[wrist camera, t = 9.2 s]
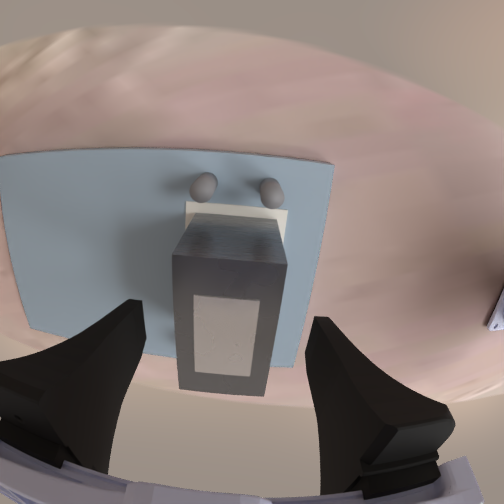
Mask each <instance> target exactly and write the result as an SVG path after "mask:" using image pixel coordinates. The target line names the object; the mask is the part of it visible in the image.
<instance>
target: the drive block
mask: <svg viewBox="0 0 504 504" xmlns="http://www.w3.org/2000/svg"><path fill="white" fill-rule="evenodd" d="M287 267H288V263H287V259H286V255H285V251H284V247H283V242H282V238H281V234H280V230H279V226H278V222H277V219H266V218H255V217H244V216H233V215H221V214H208V213H195V215H194V216H193V218H192V220H191V222H190V223H189V225H188V227H187V228H186V230H185V232H184V234H183V235H182V237H181V239H180V241H179V242H178V244H177V246H176V248H175V249H174V251H173V253H172V286H173V310H174V328H175V344H176V357H177V369H178V380H179V389H184V390H192V391H200V392H209V393H220V394H231V395H246V396H264V393H265V388H266V383H267V378H268V373H269V368H270V363H271V358H272V352H273V347H274V342H275V336H276V331H277V325H278V320H279V314H280V308H281V303H282V297H283V291H284V285H285V279H286V273H287Z"/></svg>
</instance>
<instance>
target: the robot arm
mask: <svg viewBox="0 0 504 504" xmlns="http://www.w3.org/2000/svg"><path fill="white" fill-rule="evenodd" d="M487 329H488V330H489V331H494V330H504V289H503V292H502V294H501V296H500V299H499V301H498V303H497V305H496V308H495V310H494V312H493V314H492V316H491V318H490V320H489V322H488V324H487ZM146 338H147V337H146V329H145V321H144V312H143V303H142V300H135V299H128V300H126V301H125V302H123V303H122V304H121V305H119V306H118V307H117V308H115V309H114V310H112V311H111V312H110V313H108V314H107V315H106V316H104V317H103V318H101V319H100V320H99V321H97V322H96V323H94V324H93V325H91V326H90V327H88V328H86V329H85V330H83V331H82V332H80V333H79V334H77V335H75V336H73V337H71V338H70V339H68V340H66V341H64V342H62V343H60V344H57V345H55V346H52V347H50V348H48V349H45V350H43V351H40V352H37V353H35V354H31V355H28V356H24V357H20V358H16V359H11V360H6V361H1V362H0V417H1V420H0V493H2V494H3V495H5V496H6V497H8V498H9V499H11V500H13V501H14V502H17V503H18V504H483V503H484V498H483V496H482V493H481V491H480V488H479V486H478V483H477V481H476V478H475V476H474V474H473V471H472V469H471V467H470V464H469V462H468V459H467V457H466V456H463V457H460V458H457V459H454V460H451V461H448V462H446V463H443V464H442V465H440V466H437V463H436V460H438V459H439V455H438V452H437V449H438V448H439V447H440V446H441V445H442V444H443V443H444V442H445V441H446V440H447V439H448V437H449V436H450V435H451V434H452V432H453V430H454V427H455V421H454V419H453V417H452V415H451V413H450V411H449V409H448V407H447V405H445V404H443V403H440V402H437V401H435V400H432V399H430V398H427V397H425V396H423V395H421V394H419V393H417V392H415V391H413V390H411V389H409V388H408V387H406V386H404V385H403V384H401V383H399V382H398V381H396V380H395V379H393V378H392V377H390V376H389V375H387V374H386V373H385V372H384V371H382V370H381V369H380V368H378V367H377V366H376V365H375V364H373V363H372V362H371V361H370V360H369V359H368V358H367V357H366V356H365V355H364V354H362V353H361V352H360V351H359V350H358V349H357V348H356V347H355V346H354V345H353V343H352V342H351V341H350V340H349V339H348V338H347V337H346V336H345V335H344V334H343V333H342V331H341V330H340V329H339V328H338V327H337V326H336V325H335V324H334V322H333V321H332V320H331V319H330V318H329V317H319V316H314V320H313V324H312V328H311V332H310V336H309V339H308V343H307V347H306V350H305V360H306V371H307V376H308V381H309V386H310V390H311V394H312V399H313V403H314V408H315V412H316V417H317V423H318V434H319V447H320V469H321V470H320V472H321V490H320V496H307V497H286V498H262V497H259V496H252V495H244V494H232V493H218V492H208V491H199V490H192V489H184V488H178V487H171V486H166V485H161V484H155V483H147V482H133V481H128V480H124V479H121V478H117V477H113V476H110V475H108V468H109V460H110V454H111V448H112V443H113V438H114V433H115V429H116V424H117V420H118V416H119V413H120V409H121V405H122V402H123V399H124V397H125V394H126V392H127V389H128V387H129V385H130V382H131V380H132V378H133V375H134V373H135V371H136V368H137V366H138V364H139V361H140V359H141V356H142V353H143V349H144V346H145V342H146Z"/></svg>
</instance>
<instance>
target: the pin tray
mask: <svg viewBox="0 0 504 504" xmlns="http://www.w3.org/2000/svg"><path fill="white" fill-rule="evenodd" d="M334 167H335V165H333V164H331V163H328V162H321V161H314V160H307V159H299V158H292V157H283V156H275V155H266V154H256V153H245V152H233V151H220V150H204V149H184V148H146V147H118V148H82V149H63V150H49V151H37V152H26V153H17V154H8V155H4V156H0V196H1V204H2V212H3V219H4V226H5V232H6V237H7V243H8V248H9V253H10V257H11V262H12V266H13V271H14V275H15V279H16V282H17V286H18V290H19V293H20V297H21V300H22V304H23V307H24V310H25V313H26V316H27V319H28V322H29V325H30V328H32V329H35V330H39V331H43V332H46V333H50V334H54V335H58V336H62V337H66V338H71V337H73V336H75V335H77V334H79V333H80V332H82V331H83V330H85V329H86V328H88V327H90V326H91V325H93V324H94V323H96V322H97V321H99V320H100V319H101V318H103V317H104V316H106V315H107V314H108V313H110V312H111V311H112V310H114V309H115V308H117V307H118V306H119V305H121V304H122V303H123V302H125V301H126V300H128V299H135V300H142V303H143V312H144V321H145V329H146V337H147V338H146V342H145V346H144V349H143V353H145V354H151V355H158V356H165V357H172V358H177V357H176V344H175V328H174V310H173V286H172V253H173V251H174V249H175V248H176V246H177V244H178V242H179V241H180V239H181V237H182V235H183V234H184V232H185V230H186V228H187V227H188V225H189V223H190V222H191V220H192V218H193V216H194V215H195V213H208V214H221V215H233V216H244V217H255V218H266V219H277V222H278V226H279V230H280V234H281V238H282V242H283V247H284V251H285V255H286V259H287V263H288V267H287V273H286V279H285V285H284V291H283V297H282V303H281V308H280V314H279V320H278V325H277V331H276V336H275V342H274V347H273V352H272V358H271V363H270V367H292V368H293V366H294V362H295V358H296V354H297V350H298V346H299V342H300V338H301V334H302V330H303V326H304V322H305V318H306V313H307V309H308V305H309V300H310V296H311V291H312V286H313V282H314V277H315V272H316V268H317V263H318V258H319V253H320V248H321V243H322V237H323V232H324V227H325V221H326V216H327V210H328V204H329V198H330V192H331V186H332V180H333V173H334Z"/></svg>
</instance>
